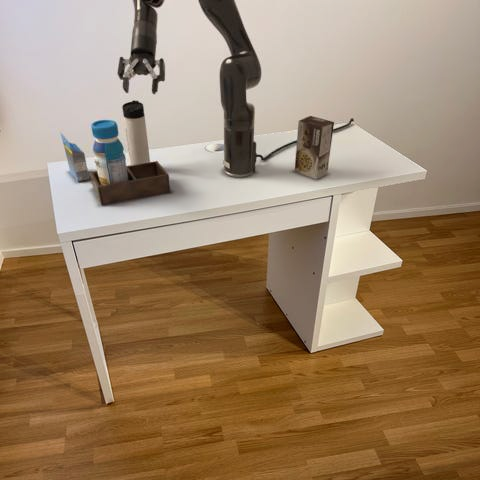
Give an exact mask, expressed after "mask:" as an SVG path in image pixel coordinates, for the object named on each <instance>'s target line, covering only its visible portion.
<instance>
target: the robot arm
mask: <svg viewBox="0 0 480 480" xmlns="http://www.w3.org/2000/svg"><path fill="white" fill-rule="evenodd" d="M197 1H198V4H199V7H200V9H201V12H202V13H203V15H204V16H205V18H206V19H207V20H208V21H209V22H210V23H211V25H212V26H213V27H214V28H215V29H216V30H217V32H218V33H219V34H220V35H221V36H222V38H223V39H224V42H225V43H226V46H227V47H228V51H229V52H230V56H227V57H226V58H224V59H223V61H222V62H221V64H220V67H219V94H220V95H219V96H220V104H221V108H222V112H223V159H222V165H223V173H224V174H225V175H227V176H229V177H233V178H245V177H249V176H251V175H252V174H255V173H256V164H257V159H258V158H259V159H261V161H266V160H267V159H269V158H271V157H272V156H273V155H274V154H276V153H278V152H279V151H281V150H284V149H285V148H288V147H289V146H292V145H295V144H297V139H296V140H294V141H291V142H289V143H286V144H284V145H282V146H280V147H278V148H275V149H274V150H273V151H271V152H270V153H268V154H267V155H266V156H263V155H262V154H258V153H257V142H256V141H255V117H256V115H255V114H256V109H255V108H256V107H255V105H254V104H253V103H251V102H248V101H247V90H251V89H254V88H255V87H257V86H258V85H259V84H260V82H261V79H262V66H261V62H260V59H259V57H258V54H257V52H256V50H255V48H254V46H253V44H252V41H251V39H250V37H249V35H248V33H247V30H246V28H245V25H244V22H243V19H242V17H241V16H242V15H241V14H240V11H239V8H238V6H237V3H236V0H197ZM132 3H133V10H134V20H133V26H132V33H131V43H130V44H131V45H130V54H129V55H130V56H129V58H124V57H123V56H120V57H119V60H118V67H117V76H118V78H119V80H121V81H122V89H123V91H124V92H125V94H129V92H130V90H129V89H130V81H131V79H132V78H133V79H134V78H135V76H136V75H137V76H148V75H149V76H150V77H151V78H152V81H151V93H152V95H156V93H158V91H159V83H160V82H165V81H166V63H165V60H164V58H162V57H161V58H159V59H156V56H157V55H156V54H157V45H158V33H157V32H158V30H157V29H158V21H159V20H158V12H157V10H156V9H160V8H161V7H162V6H163V5H164V4H165V0H132ZM156 67H158V69H159V71H158V72H159V74H156V71H155V70H154V69H155V68H156ZM125 70H126V71H125ZM352 122H355V119H354V118H353V117H351V118H350V119H349V122H348V123H346V124H344V125H342V126H339V127H336V128H333V133H334V132H336V131H339V130H342V129H345V128H347V127H349V126H350V125H352Z"/></svg>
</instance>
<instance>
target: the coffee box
mask: <svg viewBox="0 0 480 480" xmlns="http://www.w3.org/2000/svg"><path fill="white" fill-rule="evenodd" d="M297 123H298V124H297V135H296V140H297V143H296V149H295V160H294V161H295V162H294V173H296V174H297V173H298V174H301V175H302V176H306V177H307V178H310V179H311V178H312V179H314V180H318V179H320V178H323V177H324V176H326V175H328V170H329V162H330V156H331V149H332V141H333V134H334V132H333V129H334V126H335V121H332V120H328V119H324V118H321V117H317V116H312V115H308V116H307V117H304V118H302V119H299V120H298V122H297Z"/></svg>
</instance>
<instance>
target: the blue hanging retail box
mask: <svg viewBox="0 0 480 480" xmlns="http://www.w3.org/2000/svg"><path fill="white" fill-rule="evenodd" d="M60 137H61V140H62V144H63V147H64V152H65V156H66V161H67V165H68V169H69V173H70V174H71V176H73V178H74V179H75V180H76V181H77V182H78V183H79V182H84V181H89V180H90V173H89V171H88V166H87V160H86V155H85V152H84V151H83V150H82V149H81V148H80V147H79V146H78V145H77V144H76V143H73V142H70V141H69V140H68V138H66V136H64V134H62V133H60Z"/></svg>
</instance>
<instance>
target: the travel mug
mask: <svg viewBox="0 0 480 480" xmlns="http://www.w3.org/2000/svg"><path fill="white" fill-rule="evenodd" d="M121 109H122V113H123V114H122V116H123V122H124V130H125V136H126V144H127V151H128V157H129V166H130V165H136V164H142V163H148V162H151V157H150V150H149V149H150V148H149V141H148V133H147V125H146V115H145V108H144V104H143V103H142V102H140V101H139V100H132V101H128V102H125V103H123V104H122V107H121Z"/></svg>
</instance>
